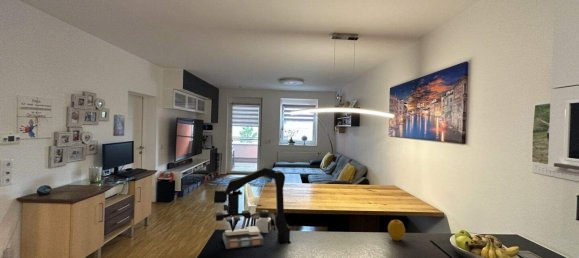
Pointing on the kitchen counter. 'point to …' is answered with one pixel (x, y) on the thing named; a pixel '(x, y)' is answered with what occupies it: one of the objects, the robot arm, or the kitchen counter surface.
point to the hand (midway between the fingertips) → (232, 231)
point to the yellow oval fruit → (396, 230)
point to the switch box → (242, 240)
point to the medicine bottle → (264, 222)
